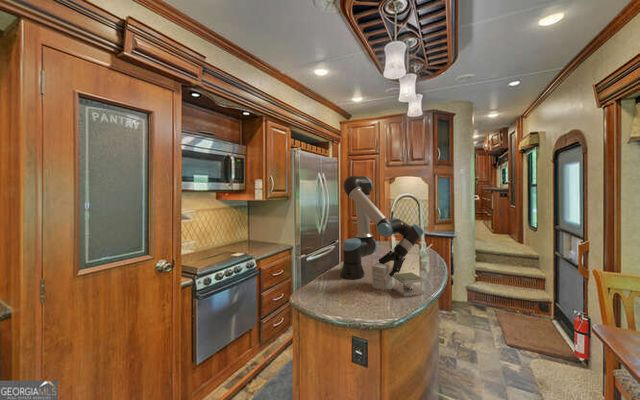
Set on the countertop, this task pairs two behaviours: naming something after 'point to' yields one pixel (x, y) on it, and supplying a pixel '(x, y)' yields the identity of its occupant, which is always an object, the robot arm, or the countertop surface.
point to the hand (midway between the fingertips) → (379, 276)
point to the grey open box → (408, 284)
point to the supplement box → (380, 276)
